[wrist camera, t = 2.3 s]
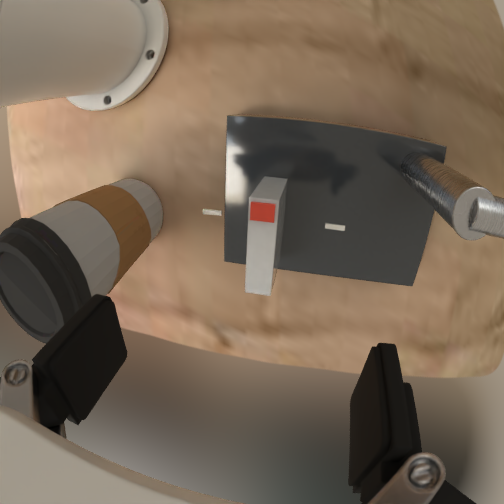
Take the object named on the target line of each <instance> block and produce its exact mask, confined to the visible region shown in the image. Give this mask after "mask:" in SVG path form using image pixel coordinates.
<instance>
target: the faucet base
mask: <svg viewBox="0 0 504 504" xmlns="http://www.w3.org/2000/svg"><path fill="white" fill-rule="evenodd" d="M412 152H422V153H424V154H426V155H428V156H430V157H432V158H434V159H436V160H438V161H439V162H441V163H443V164H444V160H445V154H446V146H444V145H441V144H438V143H436V142H433V141H430V140H427V139H422V138H418V137H414V136H409V135H405V134H400V133H395V132H390V131H385V130H380V129H374V128H369V127H363V126H357V125H350V124H343V123H336V122H329V121H321V120H313V119H303V118H293V117H282V116H269V115H252V114H235V115H228V116H227V137H226V173H225V231H224V261H225V262H232V263H239V264H246V253H247V230H248V208H249V197H250V195H251V194H252V193H253V191H254V190H255V188H256V187H257V186H258V184H259V183H260V182H261V180H262V179H263V177H264V176H266V177H276V178H285V179H287V192H286V203H285V214H284V225H283V236H282V246H281V256H280V261H279V265H278V269H282V270H290V271H297V272H305V273H312V274H320V275H327V276H335V277H343V278H350V279H358V280H366V281H374V282H382V283H390V284H398V285H406V286H413V283H414V280H415V277H416V274H417V271H418V267H419V264H420V261H421V258H422V254H423V251H424V247H425V244H426V240H427V237H428V233H429V229H430V225H431V222H432V217H433V213H434V208H433V207H432V206H431V205H430V204H429V203H428V202H427V201H426V200H425V199H424V198H423V197H422V196H421V195H420V194H419V193H418V192H417V191H415V190H414V189H413V188H412V187H411V186H410V185H409V184H408V183H407V182H406V181H405V180H404V178H403V176H402V173H401V165H402V162H403V160H404V158H405V157H406V156H407V155H408V154H410V153H412ZM203 214H209V215H218V216H221V215H222V211H221V210H211V209H203Z"/></svg>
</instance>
